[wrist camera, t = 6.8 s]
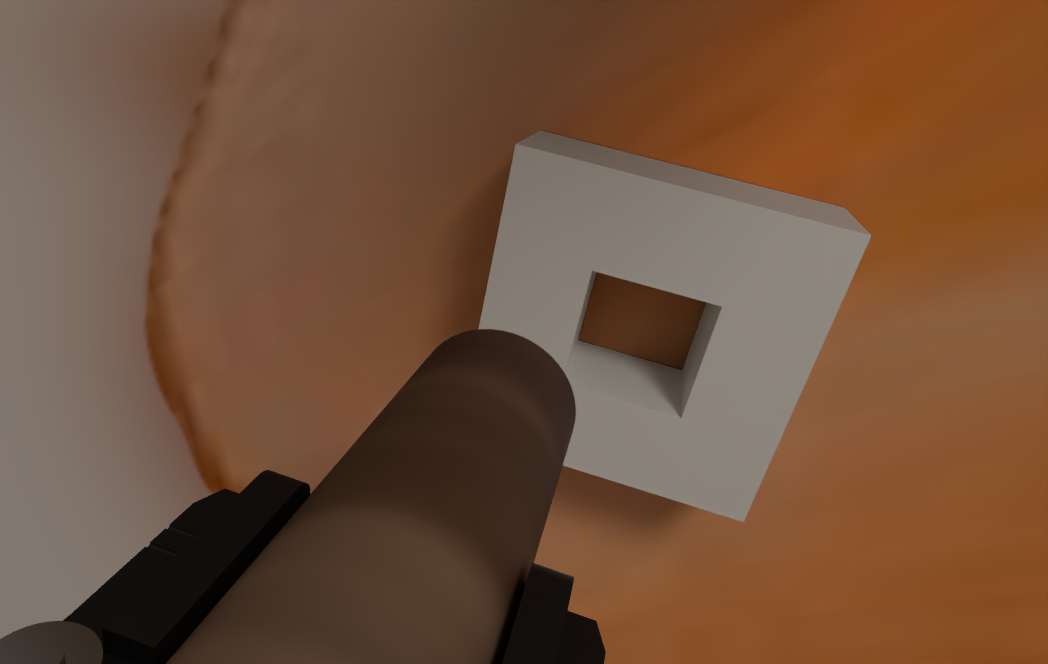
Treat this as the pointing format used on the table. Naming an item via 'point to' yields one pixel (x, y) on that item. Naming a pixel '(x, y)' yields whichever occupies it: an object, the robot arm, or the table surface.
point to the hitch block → (681, 268)
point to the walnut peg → (412, 524)
